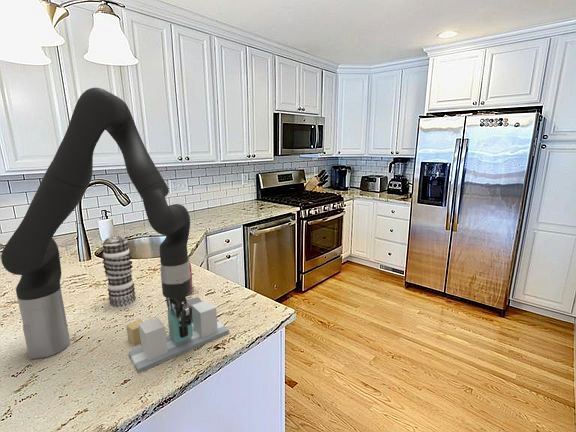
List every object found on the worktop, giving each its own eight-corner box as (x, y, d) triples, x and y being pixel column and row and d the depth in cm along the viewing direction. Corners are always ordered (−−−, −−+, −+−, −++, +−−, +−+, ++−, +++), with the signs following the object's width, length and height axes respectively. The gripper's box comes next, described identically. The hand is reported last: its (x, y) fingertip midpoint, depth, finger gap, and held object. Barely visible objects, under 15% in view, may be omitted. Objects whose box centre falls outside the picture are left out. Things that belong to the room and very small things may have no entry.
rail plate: (138, 373, 76) (134, 341, 74) (128, 355, 83) (124, 325, 81) (229, 333, 93) (227, 305, 91) (215, 320, 100) (213, 295, 98)
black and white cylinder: (133, 308, 107) (125, 241, 102) (104, 311, 105) (94, 242, 100) (140, 296, 116) (133, 233, 110) (113, 299, 114) (104, 235, 108)
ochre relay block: (134, 345, 87) (132, 330, 86) (128, 340, 90) (126, 325, 89) (148, 338, 90) (146, 323, 89) (141, 333, 93) (139, 319, 92)
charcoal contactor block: (191, 323, 98) (190, 306, 97) (187, 316, 103) (186, 299, 101) (203, 319, 101) (202, 303, 99) (199, 312, 105) (198, 296, 103)
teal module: (175, 343, 84) (173, 317, 83) (169, 336, 88) (167, 311, 86) (192, 336, 88) (190, 311, 86) (186, 329, 91) (184, 305, 89)
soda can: (186, 287, 124) (183, 257, 121) (196, 292, 119) (194, 261, 116) (170, 293, 118) (167, 262, 116) (180, 299, 114) (177, 266, 111)
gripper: (153, 272, 86) (158, 326, 90) (171, 290, 76) (177, 350, 80) (179, 266, 91) (183, 317, 95) (200, 281, 81) (203, 338, 84)
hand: (180, 332), depth 87 cm, fingers closed on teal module, 4 cm apart
